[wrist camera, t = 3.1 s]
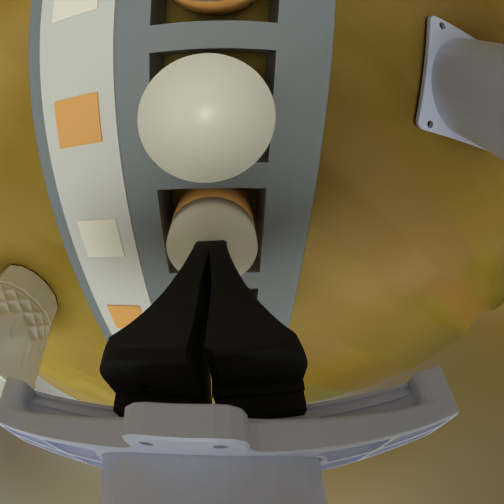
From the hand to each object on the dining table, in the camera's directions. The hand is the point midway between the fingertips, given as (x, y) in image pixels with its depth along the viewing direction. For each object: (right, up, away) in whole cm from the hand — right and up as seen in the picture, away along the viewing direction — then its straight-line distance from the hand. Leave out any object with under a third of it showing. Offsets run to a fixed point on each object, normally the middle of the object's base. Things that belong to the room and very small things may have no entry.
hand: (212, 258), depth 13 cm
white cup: (-19, -3, +7) cm, 20 cm away
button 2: (0, +7, -2) cm, 7 cm away
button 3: (0, +3, +4) cm, 5 cm away
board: (-2, +6, +2) cm, 6 cm away
